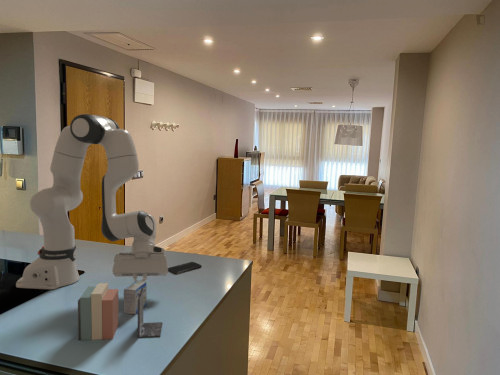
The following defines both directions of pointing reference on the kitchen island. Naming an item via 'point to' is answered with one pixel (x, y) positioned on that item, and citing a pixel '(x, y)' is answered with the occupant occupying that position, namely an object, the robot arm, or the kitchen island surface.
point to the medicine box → (134, 297)
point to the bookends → (143, 328)
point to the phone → (184, 267)
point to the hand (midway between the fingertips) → (139, 286)
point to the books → (99, 312)
